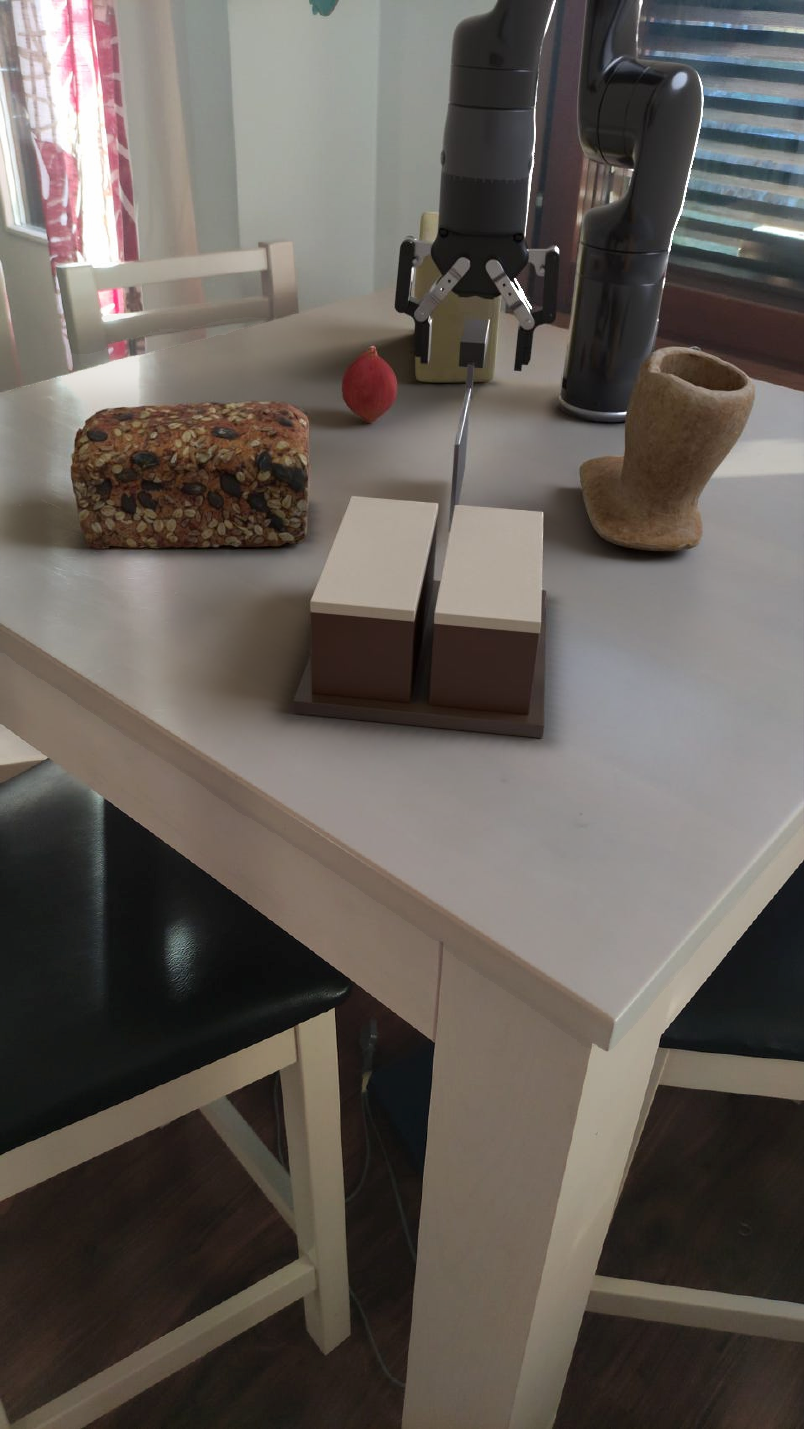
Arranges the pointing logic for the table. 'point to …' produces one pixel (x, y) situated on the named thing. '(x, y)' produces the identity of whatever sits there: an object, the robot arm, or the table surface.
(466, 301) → the cheese
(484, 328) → the knife
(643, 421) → the stone cup
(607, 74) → the robot arm
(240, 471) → the bread
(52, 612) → the table surface
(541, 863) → the table surface
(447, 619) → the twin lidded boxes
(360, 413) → the onion
